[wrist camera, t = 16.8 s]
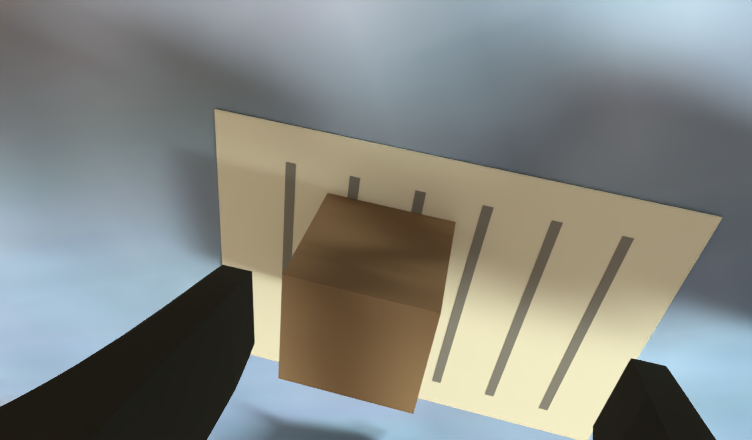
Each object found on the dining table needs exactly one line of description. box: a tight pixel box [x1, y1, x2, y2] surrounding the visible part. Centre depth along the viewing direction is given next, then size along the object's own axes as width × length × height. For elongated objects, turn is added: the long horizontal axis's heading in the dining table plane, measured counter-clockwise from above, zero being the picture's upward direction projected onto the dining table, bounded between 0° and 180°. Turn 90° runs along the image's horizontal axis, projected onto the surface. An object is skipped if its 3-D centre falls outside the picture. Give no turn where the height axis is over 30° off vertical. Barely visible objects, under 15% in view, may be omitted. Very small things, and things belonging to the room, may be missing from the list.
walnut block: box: [278, 193, 456, 414], centre depth 20 cm, size 5×5×5 cm
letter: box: [214, 109, 722, 440], centre depth 23 cm, size 18×13×1 cm
